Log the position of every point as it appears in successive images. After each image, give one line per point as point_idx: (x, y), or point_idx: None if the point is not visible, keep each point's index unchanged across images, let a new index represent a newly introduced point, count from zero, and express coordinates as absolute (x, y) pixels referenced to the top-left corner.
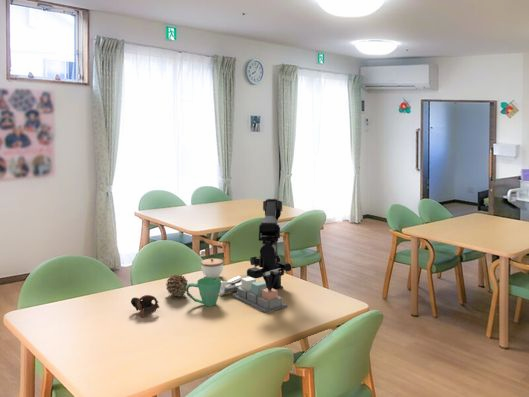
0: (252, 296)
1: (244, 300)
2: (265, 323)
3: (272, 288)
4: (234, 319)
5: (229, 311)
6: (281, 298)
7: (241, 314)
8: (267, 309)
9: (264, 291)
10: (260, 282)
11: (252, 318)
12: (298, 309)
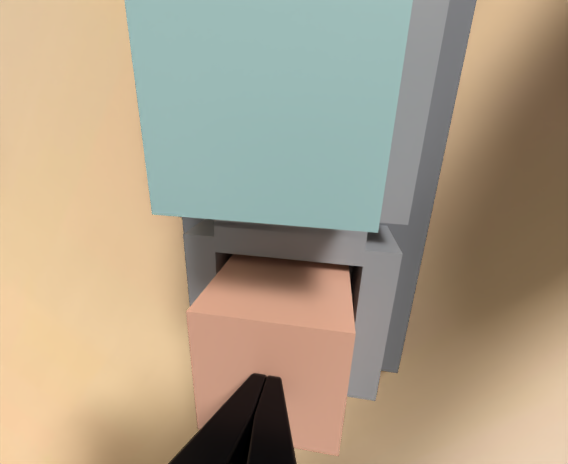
0: None
1: None
2: (129, 414)
3: (343, 376)
4: (4, 277)
5: (6, 145)
6: (366, 392)
7: (63, 246)
8: None
9: (195, 357)
10: (332, 66)
11: (98, 333)
12: (413, 427)
